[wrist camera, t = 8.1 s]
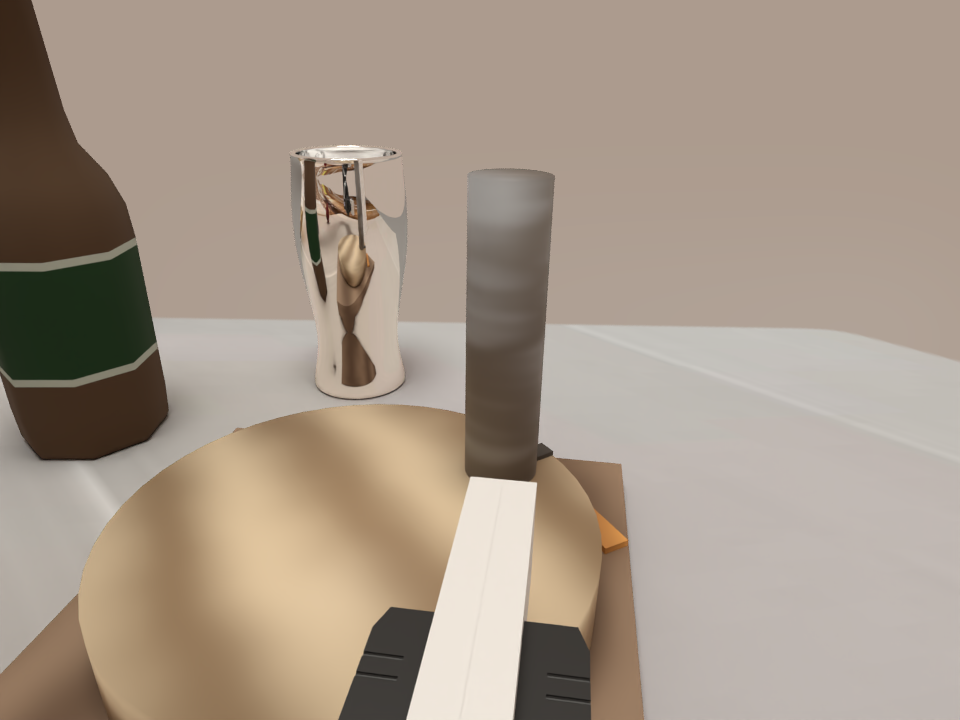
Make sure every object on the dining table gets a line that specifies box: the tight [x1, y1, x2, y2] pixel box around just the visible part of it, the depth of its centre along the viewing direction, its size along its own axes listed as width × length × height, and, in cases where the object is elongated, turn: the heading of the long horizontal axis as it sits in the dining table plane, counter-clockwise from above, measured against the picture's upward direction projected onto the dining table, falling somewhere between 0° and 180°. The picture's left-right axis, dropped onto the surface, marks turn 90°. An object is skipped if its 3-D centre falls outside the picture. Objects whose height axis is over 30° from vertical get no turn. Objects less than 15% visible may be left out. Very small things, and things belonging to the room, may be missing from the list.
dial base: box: [0, 428, 644, 720], centre depth 26 cm, size 21×21×2 cm
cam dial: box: [78, 169, 602, 720], centre depth 22 cm, size 18×18×15 cm
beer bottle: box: [0, 0, 169, 459], centre depth 34 cm, size 8×8×24 cm
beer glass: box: [290, 145, 408, 399], centre depth 42 cm, size 7×7×15 cm
